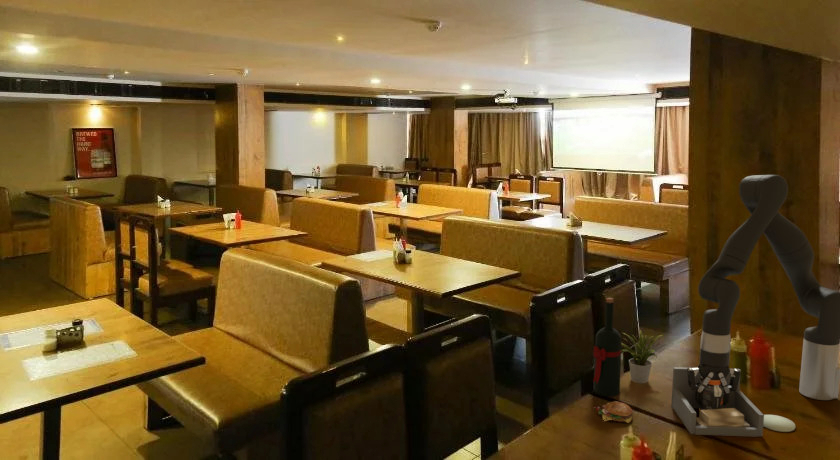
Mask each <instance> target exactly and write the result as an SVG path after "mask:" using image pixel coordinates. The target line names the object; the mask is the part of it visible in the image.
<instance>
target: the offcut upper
mask: <svg viewBox="0 0 840 460" xmlns="http://www.w3.org/2000/svg"><path fill="white" fill-rule="evenodd" d="M698 418H699V419H700V420H702V421H703V422H704V423H705V424H706V425H708V426H722V425H737V424H744V415H743V414H742V413H740V412H739V411H738V410H736V409H735V408H725V409H709V410H700V409H699V417H698Z"/></svg>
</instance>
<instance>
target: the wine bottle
mask: <svg viewBox="0 0 840 460" xmlns="http://www.w3.org/2000/svg"><path fill="white" fill-rule="evenodd" d="M605 299H606V302H605V318H604V319H605V321H604V322H605V324H604V325H605V326H604V327H602V328H601V329H599V330H598V331H597V332H596V335H595V345H594V346H593V351H592V352H593V358H594V365H593V366H594V367H593V370H594V372H593V380H592V383H593V388H592V390H593V392H594V393H595V394H597V395H599V396H601V397H616V396H619V395H620V393H621V390H620V389H621V368H622V367H621V365H622V364H621V363H622V361H621V360H622V358H621V357H622V351H621V350H622V345H621V343H622V336H621V334H620V333H619V331H618V330H617V329H616V328H614V326H613V325H614V323H613V322H614V304H615V303H614V299H615V298H613V297H606V298H605Z"/></svg>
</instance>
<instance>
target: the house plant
mask: <svg viewBox="0 0 840 460" xmlns="http://www.w3.org/2000/svg"><path fill="white" fill-rule="evenodd" d="M623 334H624V335H626V337H627V338H629V339H630V341H631V344H632V347H633V348H631V347H630V346H628V345H626V344H625V343H623V342H621V347H622V348H623V349H621V352H628V353H629V354H630V355H631V357H632V358H630V359H628V366H629V374H630V380H631V381H632V382H634V383H637V384H646V383H648V381H649V377H650V373H651V370H652V365H653V364H652V361H651V360H649V358H650V357H653V356H654V357H656V359H657V354H656V353H655V352H656V350H655V349H654V348H653V349H652V347H653V346H652V345H653V344H654V343H655V342H656V341H657V340H658V339H659V338H660V337H662V336H664V334H662V335H661V334H659V335H657V336H654V335H652V336H649V337H648V338H647V335H645V336H644V334H643V332H642V330H641V329H639V333H638V339H637V337H633V336H631V335H629V334H628V333H624V332H623ZM651 338H652V339H651ZM622 339H624V340H626V341H627V339H626V338H624V337H622ZM650 339H651V340H650ZM649 340H650V342H649V344H648V346H647V343H648V341H649ZM658 343H659V341H657V342H656V344H658ZM646 346H647V347H646Z"/></svg>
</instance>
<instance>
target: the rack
mask: <svg viewBox="0 0 840 460" xmlns="http://www.w3.org/2000/svg"><path fill="white" fill-rule="evenodd" d="M687 368H688V367H685V366H684V367H679V366H677V367H676V366H674V367H673V369H672V386H671V388H672V389H671V407H672V409H673V410H674V412H675V414H676V415H677V416H678V418H679V419H680V421H681V423H682V424H683V425H684V426H685V428H686V430H687V431H688V432H689V434H691V435H699V436H700V435H701V436H723V437H725V436H726V437H727V436H728V437H751V438H752V437H754V438H755V437H763V433H764V427H763V422H764V415H765V414H763V412H761V410H760V409H759V408H758V407H757V406H756V405H755V404H754V403H753V402H752V401H751V400H750V399H749V398H748V397H747V396H746V395H745V394H744V393H743V392H742V391H741V389H740V388H741V374H742V373H741V372H742V370H741V369H740V368H736V369H737V370H738V371H739V372H740V373H741V374H740V378H739V382H738V387H737V390H736V391H731V392H730V393H729V402H728V403H726V405H723V409H725V408H735V409H736V410H738V411H739V412H740V413H742V414H743V415H744V420H745V421H746V422H747V423H748V424H749V425H750V427H725V426H696V418H697V412H696V410H695V409H700V405H699V404H698V403H697V401H696V400H695V392H696V391H695V390H692V389H691V388H690V387H689V383H688V373H687ZM700 376H701V374H700V373H699V372H698V373H697V375H696V376H695V385H696V384H697V382H698V379H699V377H700ZM730 379H731V375H730V373H729V374H728V375H727V376H726V378H725V380H726V382H727V384H728V385H729V384H730ZM720 385H721V384H720Z"/></svg>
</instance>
